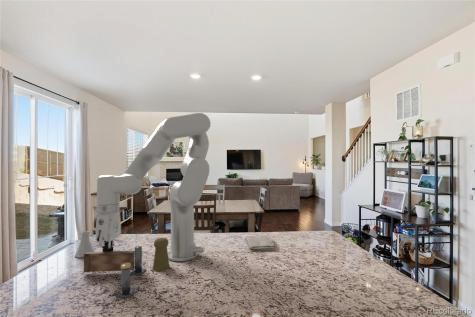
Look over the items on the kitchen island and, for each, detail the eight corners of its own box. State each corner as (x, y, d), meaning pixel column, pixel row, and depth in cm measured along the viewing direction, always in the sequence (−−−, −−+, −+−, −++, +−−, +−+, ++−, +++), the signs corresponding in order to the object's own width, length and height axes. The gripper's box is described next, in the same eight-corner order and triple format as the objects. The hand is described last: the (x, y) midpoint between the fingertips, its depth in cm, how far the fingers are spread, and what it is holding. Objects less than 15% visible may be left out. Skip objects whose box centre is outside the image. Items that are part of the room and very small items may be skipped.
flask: (98, 252, 111) (98, 229, 111) (87, 258, 104) (87, 234, 104) (83, 252, 112) (83, 229, 112) (70, 258, 104) (70, 234, 105)
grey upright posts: (152, 270, 93) (152, 245, 93) (129, 297, 74) (129, 266, 74) (135, 269, 93) (135, 245, 93) (107, 297, 74) (107, 266, 74)
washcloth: (249, 253, 111) (249, 246, 111) (244, 240, 128) (244, 234, 128) (276, 252, 112) (276, 245, 112) (267, 239, 130) (267, 233, 130)
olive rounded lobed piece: (172, 265, 96) (172, 236, 97) (163, 272, 91) (163, 241, 91) (159, 263, 98) (159, 235, 99) (149, 270, 93) (149, 240, 93)
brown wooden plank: (134, 268, 92) (134, 250, 92) (132, 270, 90) (132, 252, 90) (86, 270, 90) (86, 252, 90) (83, 272, 89) (83, 253, 89)
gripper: (107, 212, 86) (107, 266, 86) (127, 205, 101) (127, 251, 101) (86, 212, 86) (85, 266, 86) (108, 205, 101) (108, 251, 101)
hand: (107, 258), depth 93 cm, fingers closed
